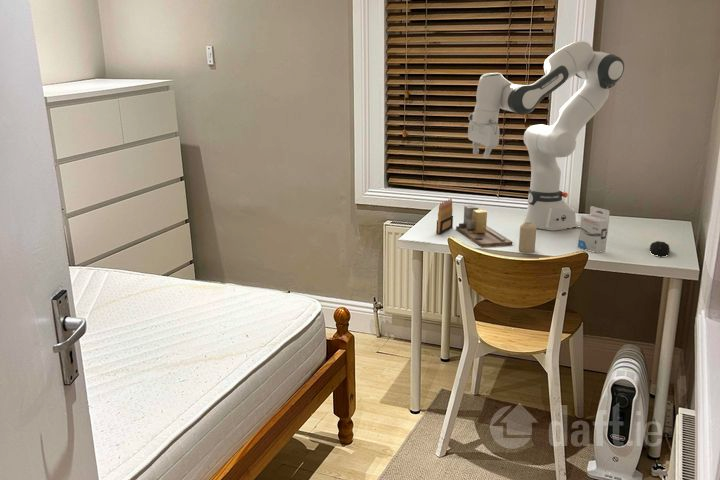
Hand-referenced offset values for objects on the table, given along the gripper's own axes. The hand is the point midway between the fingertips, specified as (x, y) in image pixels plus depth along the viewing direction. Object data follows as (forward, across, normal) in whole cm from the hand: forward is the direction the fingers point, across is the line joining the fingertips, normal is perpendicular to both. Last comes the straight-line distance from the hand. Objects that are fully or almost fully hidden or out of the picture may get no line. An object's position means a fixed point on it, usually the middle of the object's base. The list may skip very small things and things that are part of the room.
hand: (480, 156), depth 253 cm
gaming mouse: (+26, -37, -55) cm, 71 cm away
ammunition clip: (+30, +6, +8) cm, 32 cm away
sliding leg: (+28, -3, 0) cm, 28 cm away
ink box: (+27, -28, -34) cm, 52 cm away
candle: (+29, -24, -11) cm, 39 cm away
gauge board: (+29, -5, -3) cm, 30 cm away
